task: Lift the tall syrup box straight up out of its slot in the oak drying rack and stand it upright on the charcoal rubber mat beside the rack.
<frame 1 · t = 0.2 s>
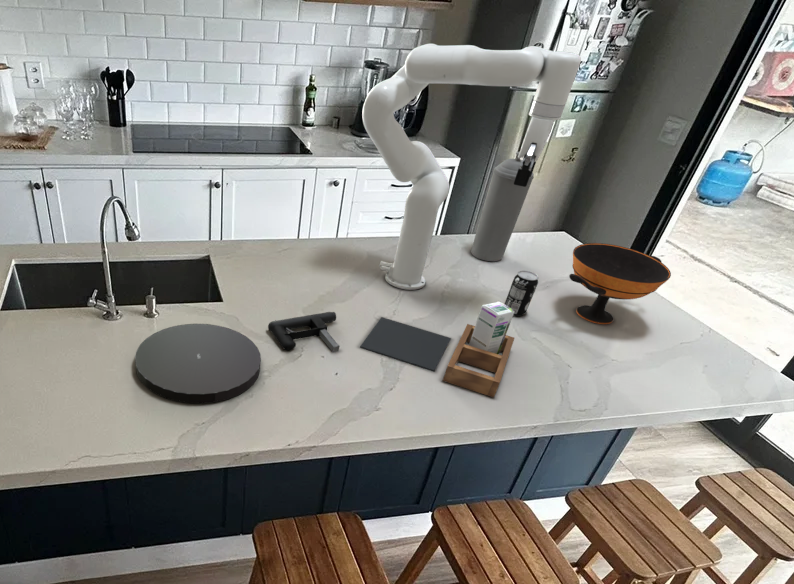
hand: (522, 180, 152), 37 cm above the table, tool pointing down, fingers open, 9 cm apart
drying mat: (406, 343, 154), on the table
beverage can: (513, 312, 172), on the table
door handle: (310, 338, 153), on the table
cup: (594, 316, 173), on the table
syrup box: (480, 356, 152), resting in drying rack
canister: (485, 256, 203), on the table
disc: (198, 366, 139), on the table
drying rack: (477, 365, 148), on the table
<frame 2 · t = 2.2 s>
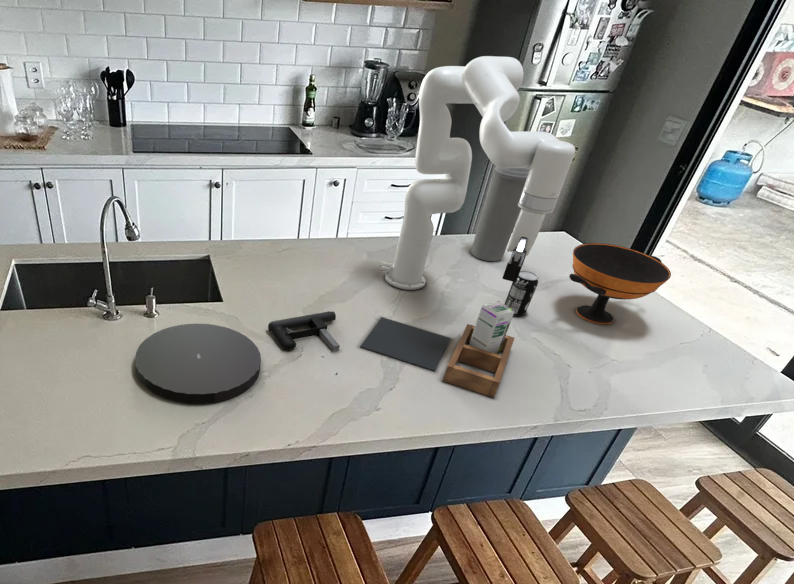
hand: (512, 272, 137), 24 cm above the table, tool pointing down, fingers open, 9 cm apart
nothing on the table moved.
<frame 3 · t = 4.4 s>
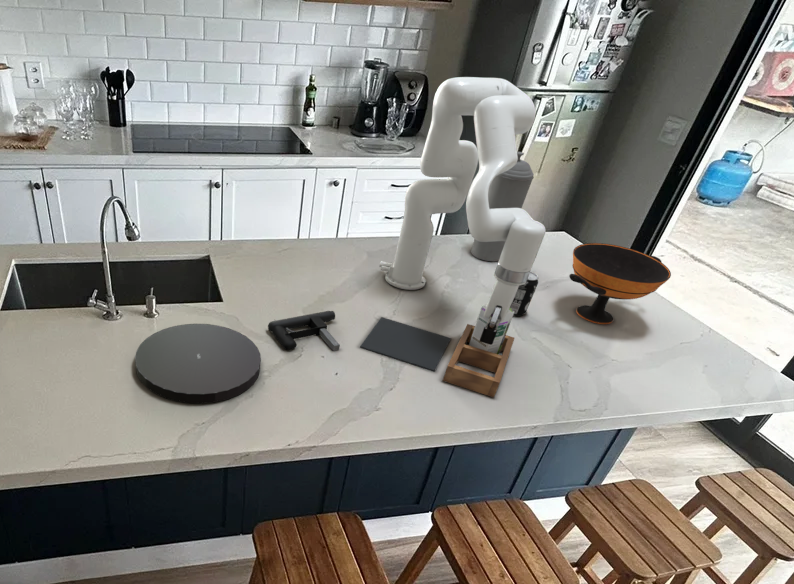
hand: (488, 334, 147), 6 cm above the table, tool pointing down, fingers closed on syrup box, 7 cm apart
syrup box: (481, 356, 152), resting in drying rack, touching gripper
everything else where it was.
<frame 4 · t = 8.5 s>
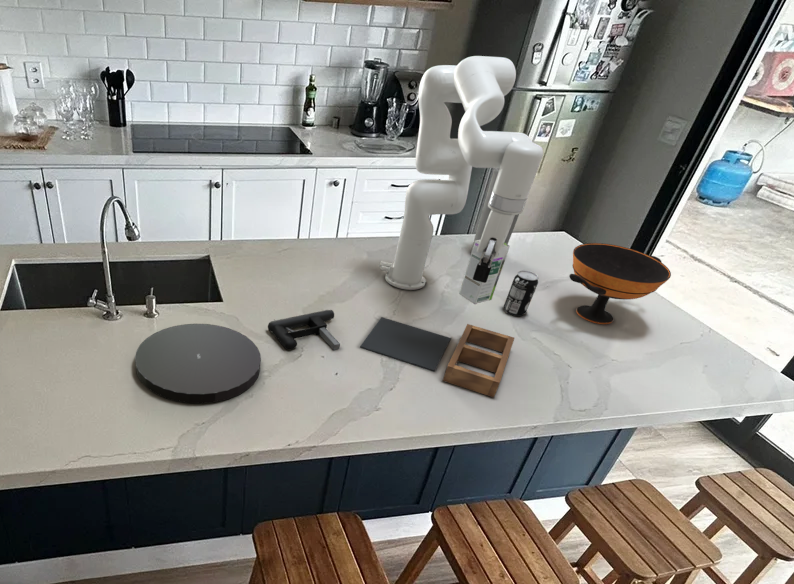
hand: (482, 273, 138), 22 cm above the table, tool pointing down, fingers closed on syrup box, 7 cm apart
syrup box: (474, 297, 143), point 16 cm above the table, touching gripper
everything else where it was.
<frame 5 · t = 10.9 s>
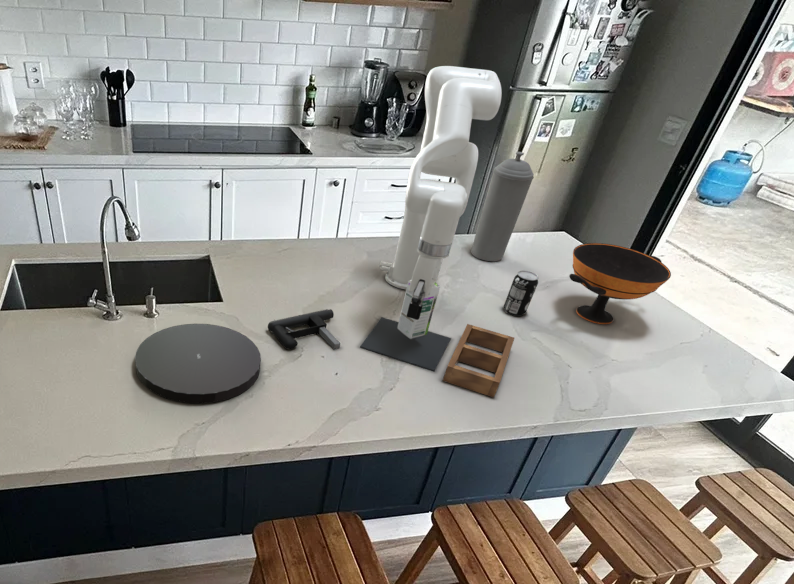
hand: (417, 310, 148), 10 cm above the table, tool pointing down, fingers closed on syrup box, 7 cm apart
syrup box: (411, 332, 152), point 3 cm above the table, touching gripper
everything else where it was.
when the fingers open (7 cm above the table, at t = 12.5 s): syrup box stays where it is, resting on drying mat.
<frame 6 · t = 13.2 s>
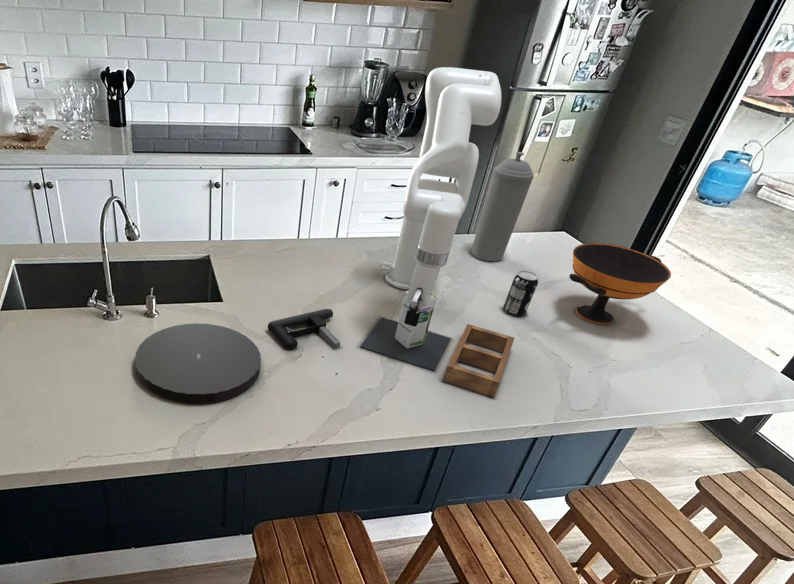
hand: (415, 316, 149), 8 cm above the table, tool pointing down, fingers open, 9 cm apart
syrup box: (408, 342, 154), resting on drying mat
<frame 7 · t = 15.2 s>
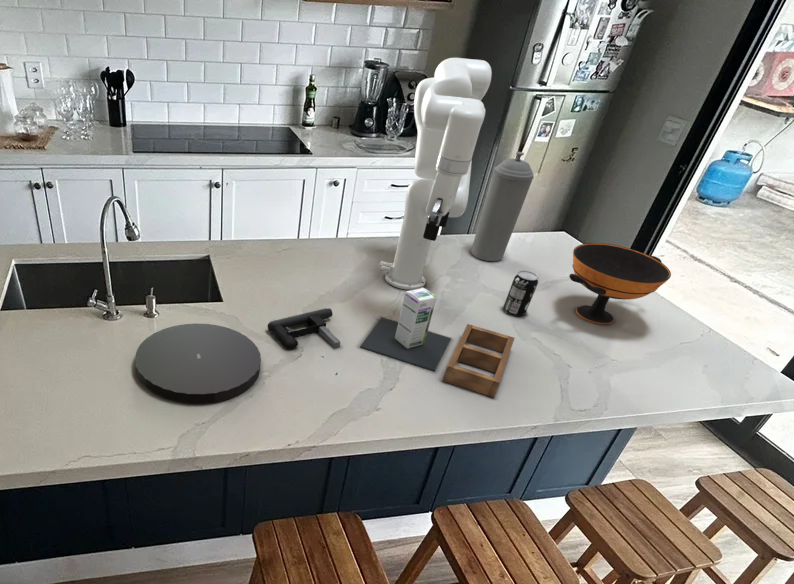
hand: (434, 232, 147), 26 cm above the table, tool pointing down, fingers open, 9 cm apart
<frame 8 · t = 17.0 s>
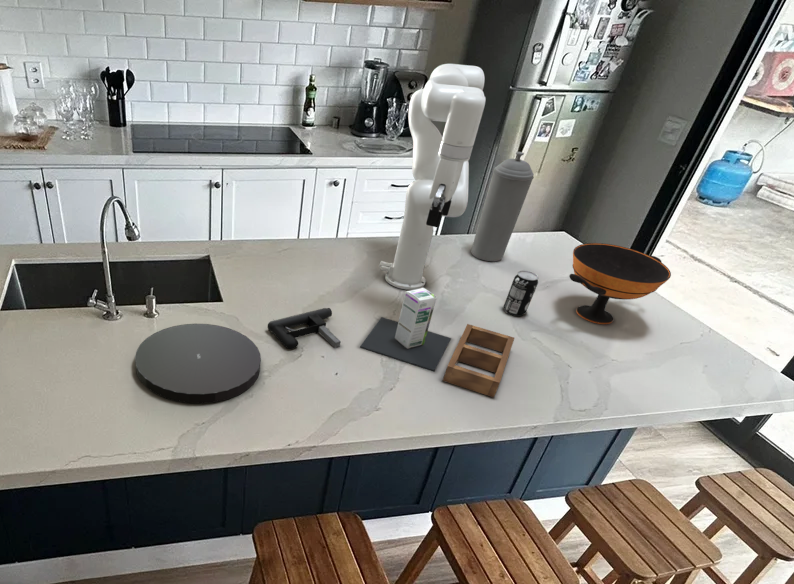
hand: (436, 220, 148), 28 cm above the table, tool pointing down, fingers open, 9 cm apart
at the end: syrup box inside the target area (0.1 cm from its centre), resting on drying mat; syrup box tilted 0°; the gripper is holding nothing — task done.
